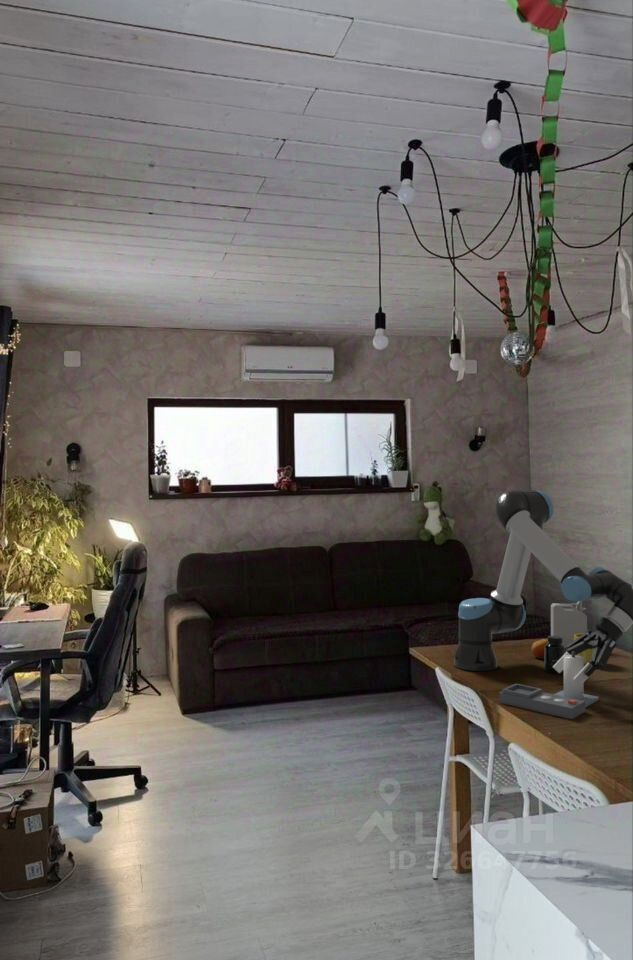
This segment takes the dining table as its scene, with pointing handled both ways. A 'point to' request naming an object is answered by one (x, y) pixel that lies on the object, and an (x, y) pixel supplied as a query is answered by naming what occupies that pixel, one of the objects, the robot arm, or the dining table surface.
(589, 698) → the mat
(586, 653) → the plant pot
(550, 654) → the supplement bottle
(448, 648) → the dining table surface
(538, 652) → the fruit
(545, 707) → the grey control panel
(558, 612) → the gas can
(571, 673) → the paper towel holder
